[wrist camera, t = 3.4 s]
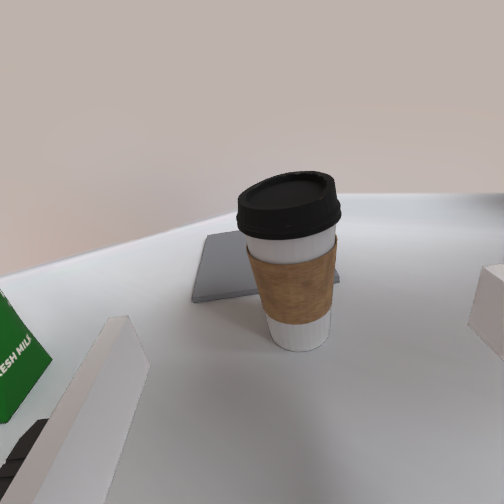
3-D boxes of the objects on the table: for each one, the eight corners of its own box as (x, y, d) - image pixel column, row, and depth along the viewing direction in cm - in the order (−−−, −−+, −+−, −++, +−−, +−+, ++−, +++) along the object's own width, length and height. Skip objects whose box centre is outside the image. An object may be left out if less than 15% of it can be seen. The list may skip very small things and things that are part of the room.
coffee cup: (359, 322, 30) (362, 173, 23) (309, 379, 25) (293, 213, 18) (292, 294, 35) (279, 167, 28) (241, 336, 31) (209, 196, 24)
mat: (309, 223, 52) (309, 219, 52) (339, 282, 36) (339, 276, 36) (208, 239, 53) (207, 235, 52) (193, 302, 37) (191, 297, 37)
